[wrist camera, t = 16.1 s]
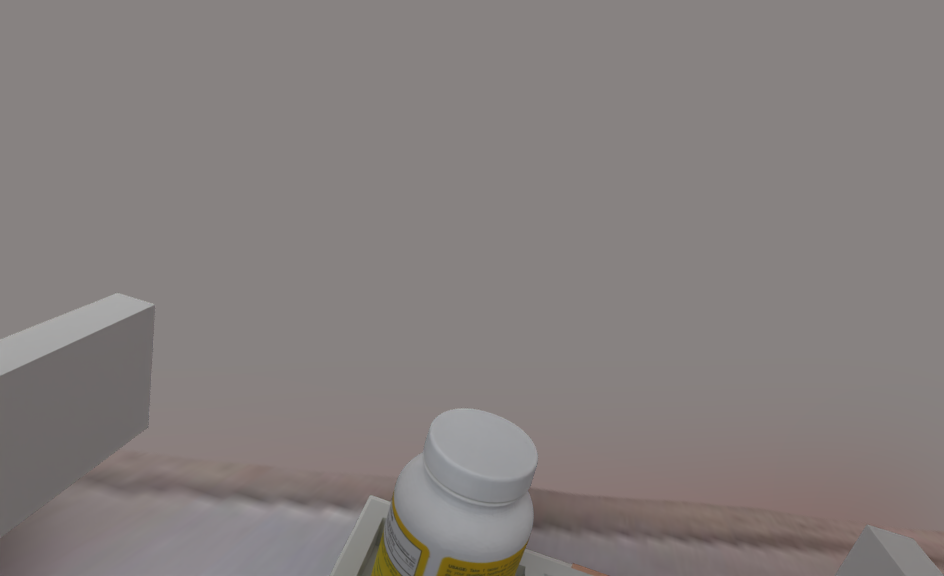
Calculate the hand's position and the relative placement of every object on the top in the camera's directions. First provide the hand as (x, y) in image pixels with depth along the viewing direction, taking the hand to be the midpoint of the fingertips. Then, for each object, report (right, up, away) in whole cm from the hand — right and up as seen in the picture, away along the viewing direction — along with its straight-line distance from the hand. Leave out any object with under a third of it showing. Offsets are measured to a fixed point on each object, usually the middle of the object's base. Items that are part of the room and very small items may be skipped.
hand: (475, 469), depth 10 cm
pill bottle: (-3, -13, +16) cm, 21 cm away
